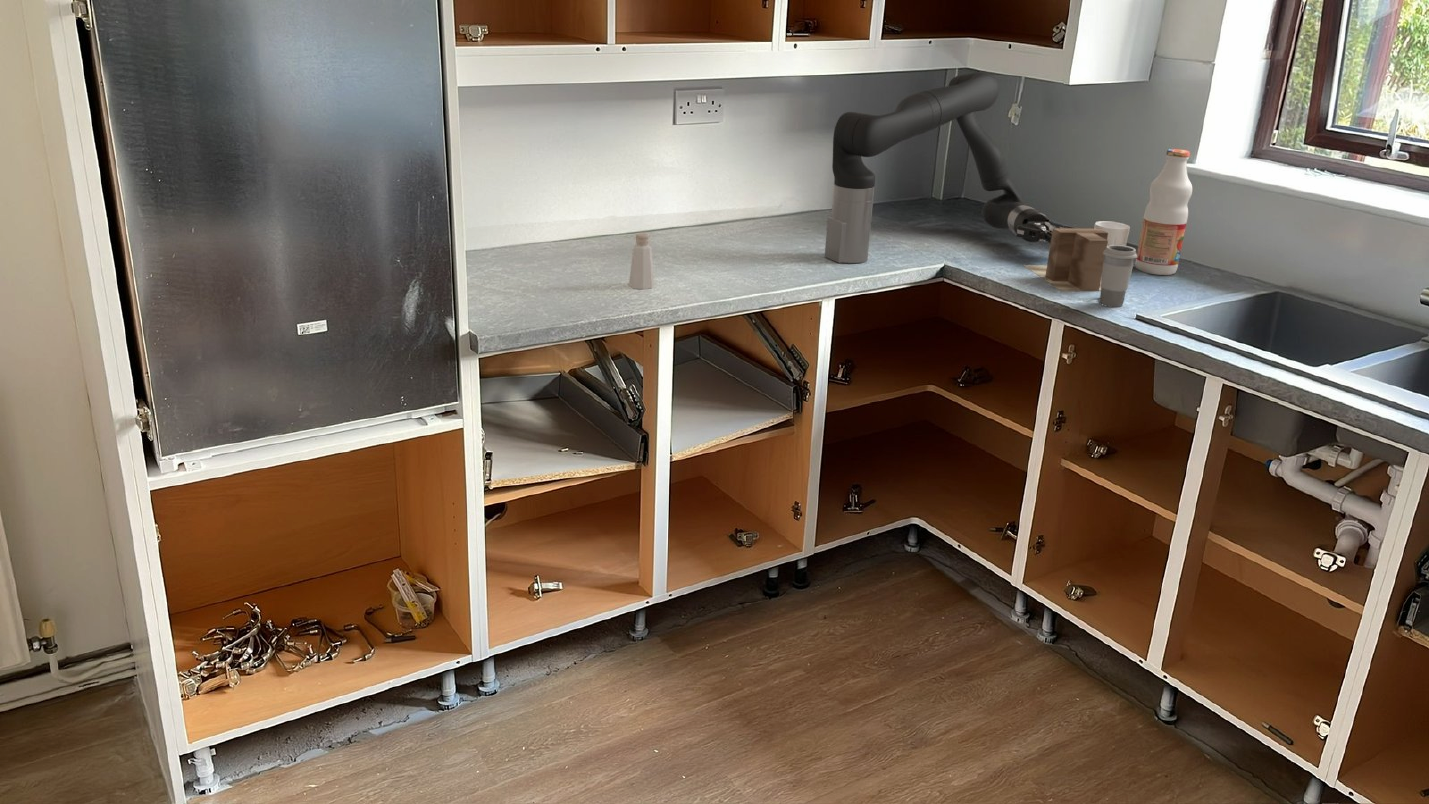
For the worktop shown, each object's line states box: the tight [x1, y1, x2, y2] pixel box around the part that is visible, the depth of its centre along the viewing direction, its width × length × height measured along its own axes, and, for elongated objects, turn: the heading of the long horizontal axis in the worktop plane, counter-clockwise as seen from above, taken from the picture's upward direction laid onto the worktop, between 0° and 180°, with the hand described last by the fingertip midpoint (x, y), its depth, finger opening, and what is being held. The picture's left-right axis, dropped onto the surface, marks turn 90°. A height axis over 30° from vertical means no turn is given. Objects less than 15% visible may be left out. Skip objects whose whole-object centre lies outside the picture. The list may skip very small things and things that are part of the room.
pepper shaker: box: [628, 232, 656, 290], centre depth 227 cm, size 5×5×11 cm
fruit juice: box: [1134, 148, 1193, 276], centre depth 254 cm, size 9×9×28 cm
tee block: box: [1045, 227, 1108, 290], centre depth 240 cm, size 11×11×11 cm
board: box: [1023, 264, 1101, 292], centre depth 247 cm, size 21×13×1 cm, turn 8°
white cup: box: [1093, 220, 1131, 246], centre depth 259 cm, size 8×8×10 cm
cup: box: [1099, 245, 1137, 308], centre depth 229 cm, size 7×7×12 cm
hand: (1057, 240), depth 252 cm, fingers closed
